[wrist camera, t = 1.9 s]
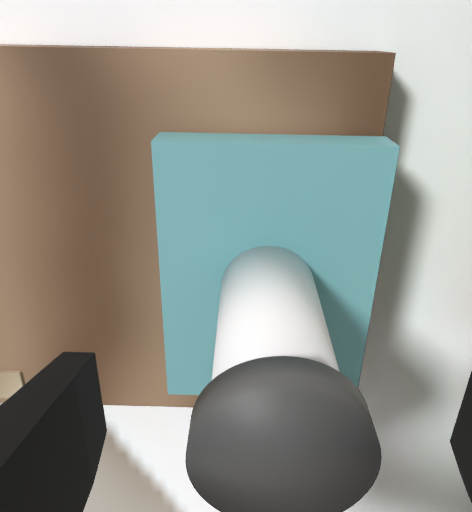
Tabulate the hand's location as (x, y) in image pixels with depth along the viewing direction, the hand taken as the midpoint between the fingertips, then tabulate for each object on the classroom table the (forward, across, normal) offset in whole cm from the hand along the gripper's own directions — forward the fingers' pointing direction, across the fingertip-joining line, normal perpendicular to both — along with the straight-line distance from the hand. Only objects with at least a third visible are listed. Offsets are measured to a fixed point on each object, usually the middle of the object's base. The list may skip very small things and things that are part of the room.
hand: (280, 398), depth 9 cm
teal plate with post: (+5, 0, 0) cm, 5 cm away
